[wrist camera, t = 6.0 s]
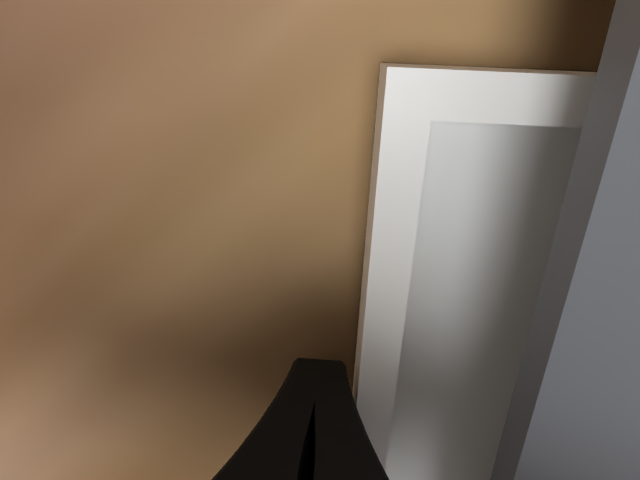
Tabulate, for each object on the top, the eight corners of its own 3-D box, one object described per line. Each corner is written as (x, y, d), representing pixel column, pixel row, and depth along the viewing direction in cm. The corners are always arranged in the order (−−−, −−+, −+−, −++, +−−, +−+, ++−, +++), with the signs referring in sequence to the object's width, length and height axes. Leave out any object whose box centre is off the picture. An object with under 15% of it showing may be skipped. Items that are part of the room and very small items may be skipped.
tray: (339, 550, 15) (336, 621, 13) (380, 62, 9) (387, 66, 7) (717, 586, 14) (770, 665, 13) (1023, 90, 9) (1207, 103, 7)
